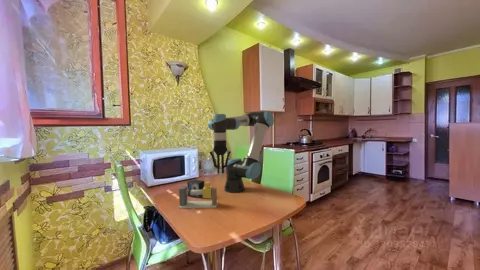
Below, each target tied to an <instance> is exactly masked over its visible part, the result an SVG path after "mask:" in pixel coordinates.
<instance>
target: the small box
mask: <svg viewBox="0 0 480 270" xmlns="http://www.w3.org/2000/svg"><path fill="white" fill-rule="evenodd" d="M186 182H187V183H186V186H187V190H189V189H191V190H203V188H204V186H205V180H199V179H191V180H187V181H186ZM189 197H192V198H197V199H201V198H203V195H191V196H189Z"/></svg>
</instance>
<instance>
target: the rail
mask: <svg viewBox="0 0 480 270" xmlns="http://www.w3.org/2000/svg"><path fill="white" fill-rule="evenodd" d="M217 190H218V189H217V187H212V189H211V195H212V197H211V200H193V201H191V200H190V201H189V200H188V197H190V196H191V195H203V190H191V189H189V190H188V187H187V185H183V186H182V185H181V187H180V188H179V189H178V195H179V205H178V209H216V208H217V206H218V203H219V200H218V196H217V194H218V193H217Z"/></svg>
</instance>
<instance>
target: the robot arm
mask: <svg viewBox="0 0 480 270" xmlns="http://www.w3.org/2000/svg"><path fill="white" fill-rule="evenodd" d="M226 115H227V114H225V113H215V114H214V115H213V119H212V118H211V119H209V120H208V123H207V127H208V130H209V129H210V130H212V131H213V149H212V150H211V151H209V154H210V156H211V159H212V163H213V166H214V167H213V168H216V170H217V174H218V175H219V177H218V178H219V179H218V180H223V174H224V173H225V171H226V174H225V175H226V181H225V184H224V191H225V192H226V193H235V194H236V193H240V192H243V191H245V184H244V181H243V179H248V180H255V179H257V178H258V177H259V176H260V174H261V168H262V166H261V163H260V161H259V158H260V154H261V152H262V151H261V150H262V147H263V143H264V140H265V136H266V132H267V131H269V129H270V127H272V126H274V124H275V123H274V122H275V119H274V114H273V113H272V112H271V111H269V110H268V111H266V110H264V111H253V112H249V113H244V114H242V115H237V116H229V117H227V116H226ZM241 126H243V127H254V131H253V134H252V138H251V141H250V145H249V147H248V151H247V154H246V156H244V157H243V159H242V158H232V159H229V158H230V154H232V153H231V152H232V151H231V150H229V149H228V146H227V131H232V130H233V131H235V130H238V129H239V128H240V127H241ZM225 154H227V155H226V158H225ZM215 155H216V157H215ZM220 157H221V158H220ZM224 158H225V159H224ZM220 159H221V160H220ZM220 161H221V162H220ZM220 164H221V165H220Z"/></svg>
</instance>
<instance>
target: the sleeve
mask: <svg viewBox="0 0 480 270" xmlns="http://www.w3.org/2000/svg"><path fill="white" fill-rule="evenodd" d="M211 189H213V186H212V185H211V182H210V181H204V188H203V197H202V199H212V195H211Z"/></svg>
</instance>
